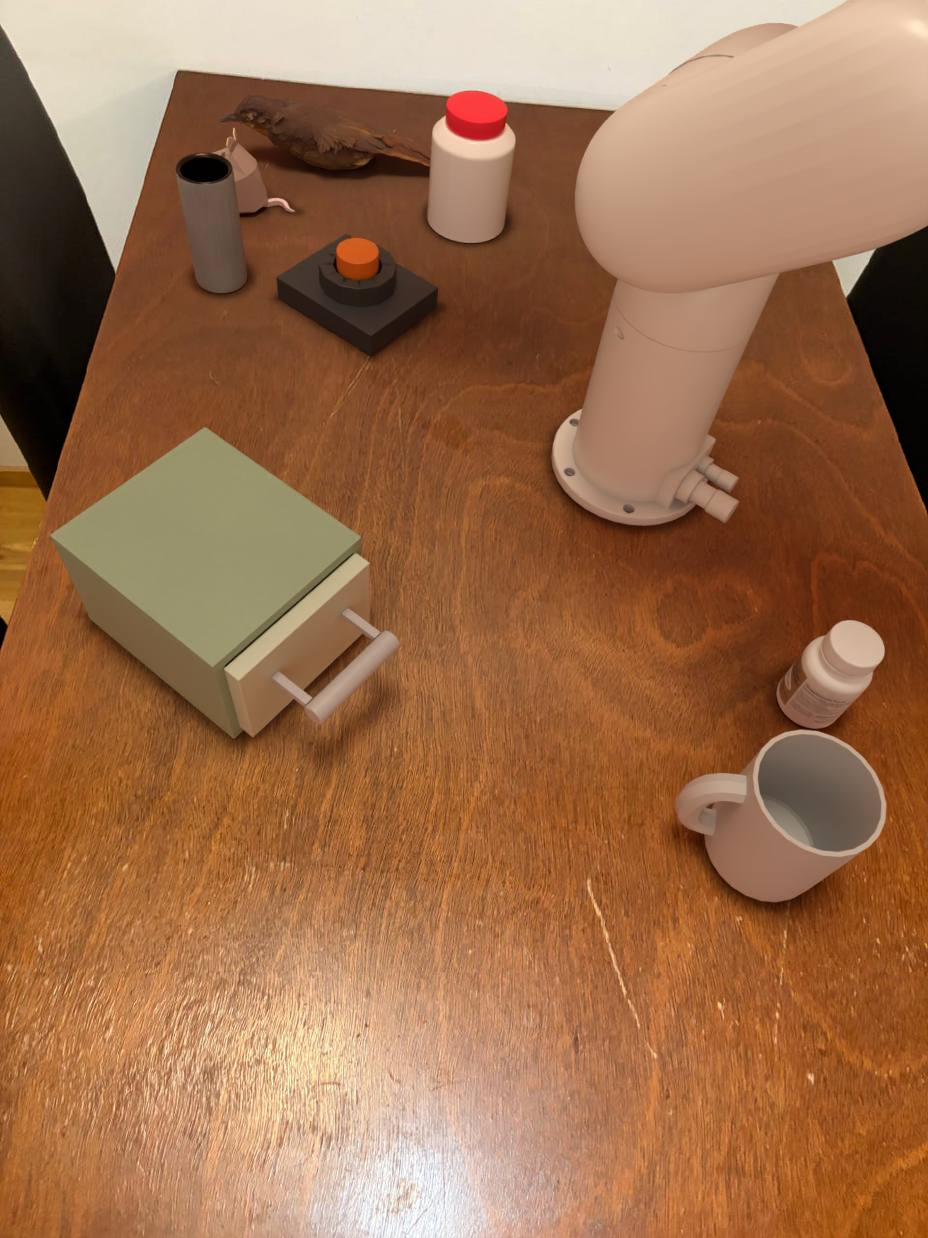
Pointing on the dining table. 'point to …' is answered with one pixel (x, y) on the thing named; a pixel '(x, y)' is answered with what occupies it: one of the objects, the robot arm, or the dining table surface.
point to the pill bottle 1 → (470, 168)
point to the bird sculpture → (323, 133)
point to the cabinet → (199, 563)
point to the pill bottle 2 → (830, 674)
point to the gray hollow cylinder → (212, 221)
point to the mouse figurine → (248, 179)
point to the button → (357, 259)
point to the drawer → (309, 651)
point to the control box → (358, 298)
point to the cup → (786, 814)
